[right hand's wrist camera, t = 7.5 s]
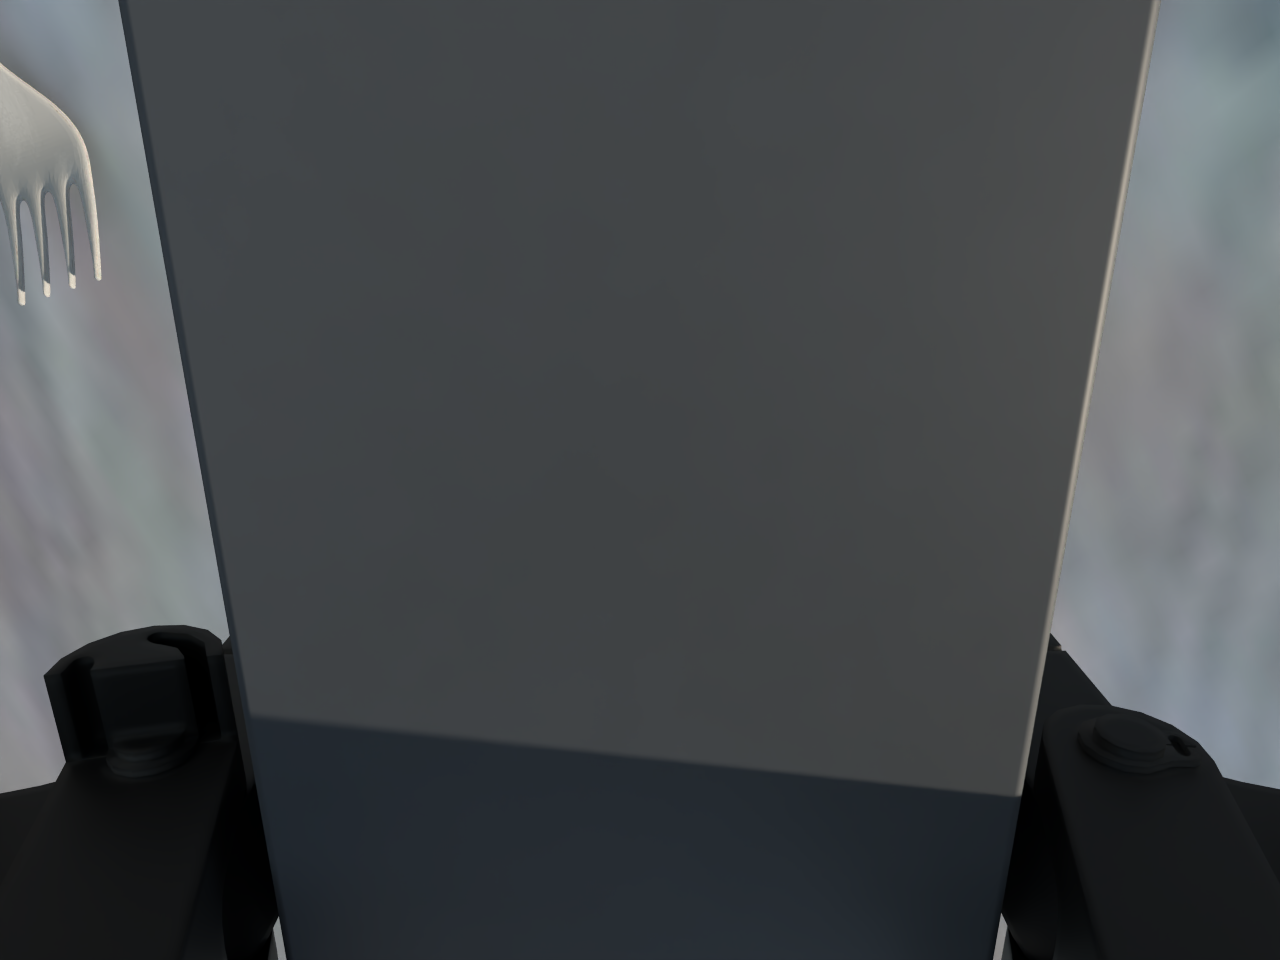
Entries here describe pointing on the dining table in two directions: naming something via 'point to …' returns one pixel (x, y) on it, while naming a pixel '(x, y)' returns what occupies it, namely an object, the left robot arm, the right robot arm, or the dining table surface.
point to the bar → (639, 449)
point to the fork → (42, 175)
